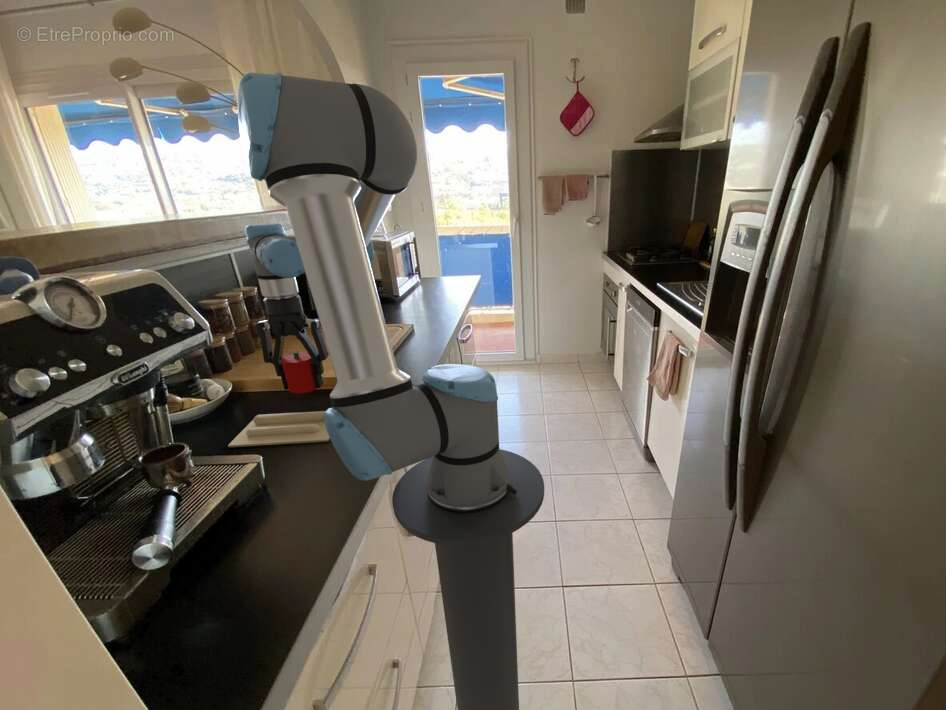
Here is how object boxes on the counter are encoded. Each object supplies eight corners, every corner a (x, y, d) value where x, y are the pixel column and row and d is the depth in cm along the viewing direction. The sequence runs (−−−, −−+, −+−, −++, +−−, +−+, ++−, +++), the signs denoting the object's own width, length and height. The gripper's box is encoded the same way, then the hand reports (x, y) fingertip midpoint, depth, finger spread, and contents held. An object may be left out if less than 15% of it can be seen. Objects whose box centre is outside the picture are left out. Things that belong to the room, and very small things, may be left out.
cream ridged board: (346, 411, 107) (344, 402, 106) (328, 441, 94) (325, 431, 93) (258, 416, 105) (255, 407, 104) (228, 447, 92) (224, 437, 91)
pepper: (323, 381, 116) (315, 347, 112) (314, 392, 110) (305, 356, 106) (295, 382, 115) (286, 348, 111) (284, 394, 109) (274, 358, 105)
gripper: (331, 291, 107) (348, 379, 117) (243, 293, 105) (269, 382, 115) (321, 298, 100) (340, 391, 110) (227, 300, 98) (256, 395, 108)
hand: (304, 386), depth 112 cm, fingers closed on pepper, 7 cm apart
